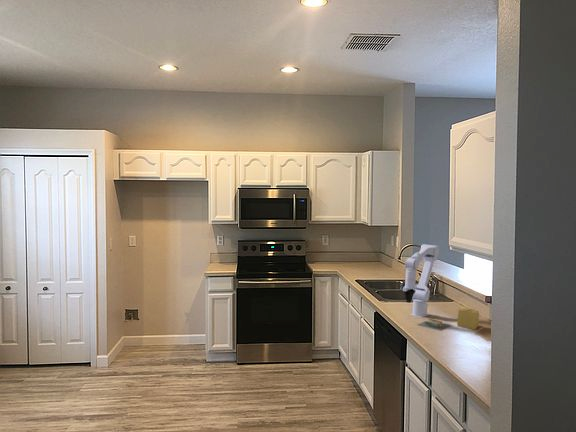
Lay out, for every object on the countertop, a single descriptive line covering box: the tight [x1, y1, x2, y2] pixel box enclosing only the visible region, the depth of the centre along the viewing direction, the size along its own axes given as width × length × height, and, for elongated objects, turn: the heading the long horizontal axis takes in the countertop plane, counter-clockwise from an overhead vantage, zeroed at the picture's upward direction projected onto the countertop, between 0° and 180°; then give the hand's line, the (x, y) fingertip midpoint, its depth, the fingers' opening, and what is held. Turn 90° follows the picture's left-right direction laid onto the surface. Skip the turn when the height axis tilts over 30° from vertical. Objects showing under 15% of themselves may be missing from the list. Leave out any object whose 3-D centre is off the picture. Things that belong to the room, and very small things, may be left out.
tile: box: [424, 318, 443, 328], centre depth 265 cm, size 2×7×7 cm
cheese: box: [456, 305, 480, 330], centre depth 269 cm, size 10×11×10 cm
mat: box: [417, 321, 453, 332], centre depth 267 cm, size 16×14×1 cm
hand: (408, 302), depth 275 cm, fingers closed
